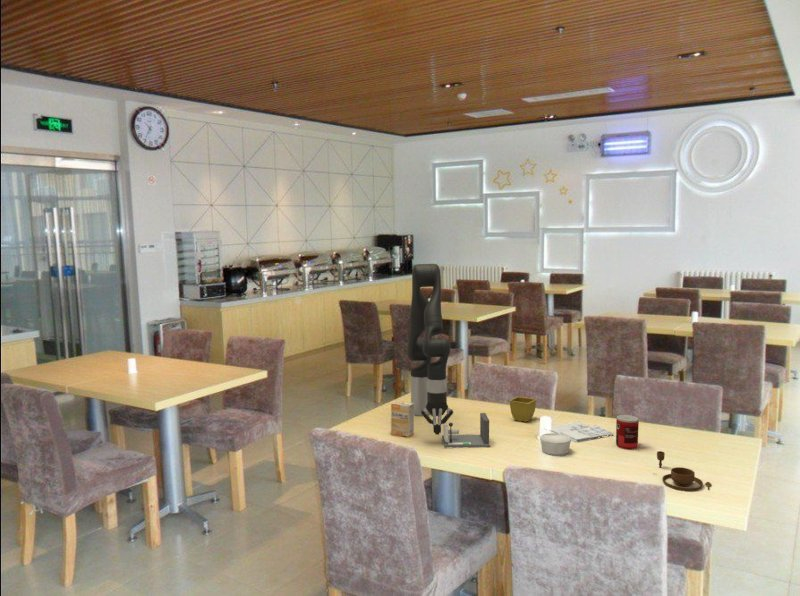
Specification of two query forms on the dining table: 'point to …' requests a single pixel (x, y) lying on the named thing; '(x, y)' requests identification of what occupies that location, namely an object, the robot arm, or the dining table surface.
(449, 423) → the black ball-ended rod
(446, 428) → the pad
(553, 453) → the ramekin
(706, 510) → the dining table surface
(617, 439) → the canned food
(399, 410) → the supplement box
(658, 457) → the place setting
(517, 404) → the flower pot
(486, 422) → the gauge frame
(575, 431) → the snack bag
